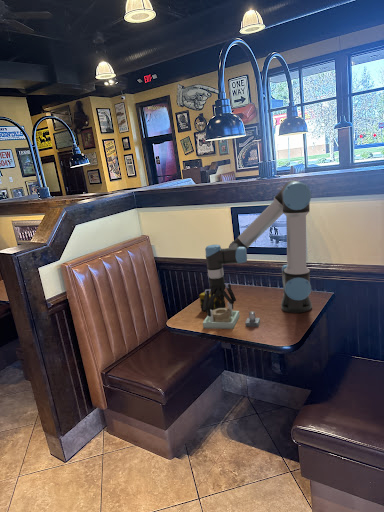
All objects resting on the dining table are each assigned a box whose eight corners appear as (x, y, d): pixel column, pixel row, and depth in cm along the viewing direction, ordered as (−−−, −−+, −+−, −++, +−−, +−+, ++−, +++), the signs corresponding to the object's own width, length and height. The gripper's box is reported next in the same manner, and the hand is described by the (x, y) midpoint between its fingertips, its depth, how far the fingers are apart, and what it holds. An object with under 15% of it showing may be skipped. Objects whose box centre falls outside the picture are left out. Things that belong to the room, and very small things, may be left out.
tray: (239, 316, 193) (239, 310, 192) (233, 328, 179) (232, 323, 178) (211, 316, 198) (210, 310, 197) (203, 328, 184) (202, 322, 183)
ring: (233, 320, 186) (232, 311, 185) (218, 325, 182) (217, 316, 181) (222, 314, 196) (221, 305, 195) (207, 319, 192) (206, 310, 191)
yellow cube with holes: (211, 305, 214) (209, 288, 212) (226, 307, 207) (224, 290, 205) (200, 311, 206) (198, 294, 204) (215, 314, 200) (213, 296, 198)
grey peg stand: (260, 321, 183) (259, 310, 181) (258, 326, 177) (257, 315, 176) (247, 321, 185) (246, 310, 183) (245, 326, 179) (244, 315, 178)
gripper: (232, 269, 191) (236, 310, 196) (191, 280, 182) (197, 323, 187) (240, 272, 184) (244, 314, 189) (198, 283, 175) (204, 327, 180)
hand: (221, 318), depth 188 cm, fingers open, 11 cm apart
